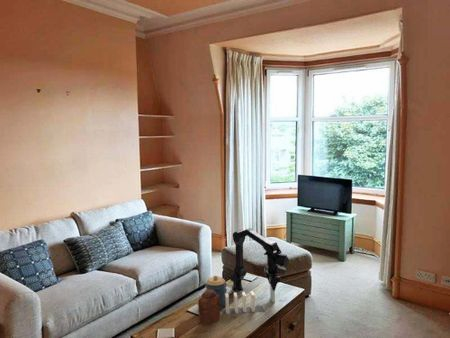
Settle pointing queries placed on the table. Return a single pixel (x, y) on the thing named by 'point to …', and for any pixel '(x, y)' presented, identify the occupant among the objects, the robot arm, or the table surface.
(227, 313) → the domino
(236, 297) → the domino
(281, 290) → the table surface
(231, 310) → the mat
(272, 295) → the domino
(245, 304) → the domino
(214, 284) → the canister
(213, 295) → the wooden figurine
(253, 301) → the domino
